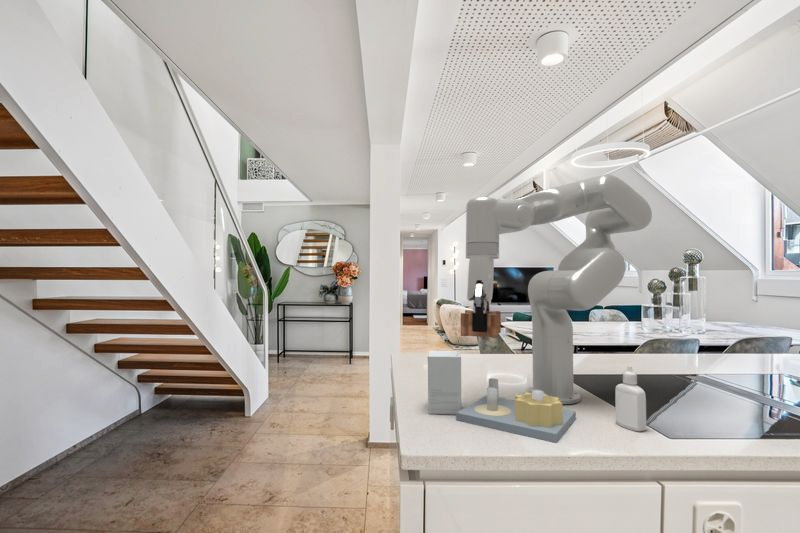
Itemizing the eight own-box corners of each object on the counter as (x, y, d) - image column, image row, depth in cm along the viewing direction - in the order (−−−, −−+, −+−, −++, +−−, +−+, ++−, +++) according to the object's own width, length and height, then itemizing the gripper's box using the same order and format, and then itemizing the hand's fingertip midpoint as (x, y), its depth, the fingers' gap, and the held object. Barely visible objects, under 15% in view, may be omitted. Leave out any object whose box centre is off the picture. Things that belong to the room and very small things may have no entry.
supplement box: (460, 405, 93) (460, 350, 94) (461, 415, 86) (461, 356, 87) (428, 403, 94) (428, 349, 95) (427, 414, 87) (427, 355, 87)
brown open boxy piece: (500, 332, 94) (500, 311, 94) (498, 338, 86) (498, 315, 86) (465, 330, 97) (465, 309, 97) (459, 336, 89) (460, 313, 89)
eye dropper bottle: (624, 431, 77) (623, 368, 78) (613, 421, 83) (612, 363, 83) (648, 432, 77) (647, 369, 77) (636, 422, 82) (635, 363, 83)
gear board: (486, 401, 96) (486, 372, 96) (575, 418, 85) (575, 384, 85) (456, 420, 83) (456, 385, 83) (556, 442, 72) (556, 403, 72)
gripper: (470, 255, 102) (470, 325, 101) (460, 248, 85) (459, 333, 84) (501, 254, 99) (500, 327, 99) (496, 248, 83) (495, 335, 82)
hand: (481, 329), depth 91 cm, fingers closed on brown open boxy piece, 6 cm apart
